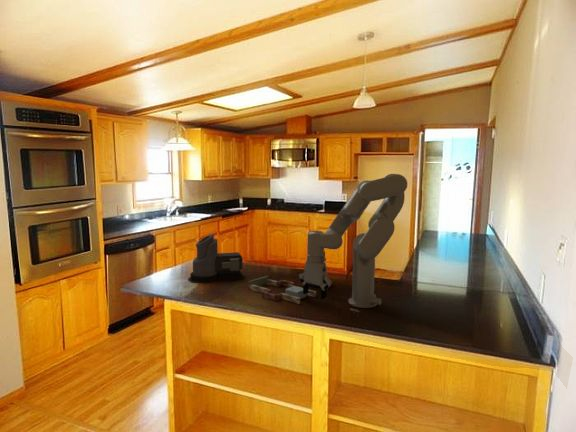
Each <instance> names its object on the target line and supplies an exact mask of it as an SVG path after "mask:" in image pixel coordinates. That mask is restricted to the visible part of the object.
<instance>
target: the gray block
mask: <svg viewBox="0 0 576 432" xmlns="http://www.w3.org/2000/svg"><path fill="white" fill-rule="evenodd" d="M284 293H285V294H288V295H292V296H295V297H299V298H300V300H301V299H304V298H306V297H307V295H306V294H303V287H301V286H296V285H295V286H293V287H290V288H287V287H286V288H285V289H284Z"/></svg>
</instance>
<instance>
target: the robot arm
mask: <svg viewBox="0 0 576 432" xmlns="http://www.w3.org/2000/svg"><path fill="white" fill-rule="evenodd" d="M407 188H408V180H407V178H406V176H404V175H402V174H400V173H399V174H398V173H389V174H387V175H385V176H384V177H381V178H377V179H373V180H372V179H371V180H368V179H367V180H363V181H361V182H359V183H358V185H357V186H356V187H355V189H354V190H353V192H352V194H351V195H350V197H349V198H348V200H347V201H346V203H345V204H344V205H343V207H342V208H341V209H340V211H339V212H338V214H337V215H336V216H335V218H334V219H333V220H332V222H331V223H330V225H329V226H328V228H327V230H326V231H325V232H324V231H321V230H310V231H309V232H307V245H306V246H307V251H306V253H307V254H306V260H305V264H304V269H303V272H302V273H299V274H298V278H299V280H300V282H301V286H303V287H302V288H303V294H307V293H308V291H309V290H310V289H309V288H310V287H309V286H310V285H308V283H311V284H315V285H319V287H320V288H321V290H320V299H321V300H324V299H326V298H327V293H328V292H327V290H328V289H329V288H330V287H331V285H332V283H333V281H332V280H331V279H330V278H328V269H327V268H328V267H327V263H326V261H327V258H326V257H325V258H324V251H325V249H327V250H328V249H329V250H337V249H340V248H341V247H342V245H343V236H344V234H345V233H346V231H347V230H348V228H349V227H351V225H352V224H354V223H356V222H357V221H358V220H360V219H361V217H362V215H363V214H364V213H365V211H366V209H367V208H368V206H369V205H370V204H371V202H375V201H380V200H382V202H381V204H380V205H379V206H378V208H377V209H376V211H375V212H374V213H373V215H371V217H370V218H369V220H368V229H367V231H366V232H364V233H359V234H358V235H356V236H355V238H354V239H353V242H352V257H353V258H352V282H351V283H352V285H351V286H352V287H351V289H352V290H351V297H349V299H347V301H348V304H349V305H350V306H352V307H354V308H355V307H356V308H361V309H370V308H375V307H376V306H377V305H379V306H380V305H382V298H379V297H378V298H377V295H376V294H375V292H374V291H375V276H376V275H375V270H376V269H375V268H376V257H377V256H379V254H380V253H381V252H382V250H383V249H384V248H385V246H386V245H387V243H388V242H389V240H390V239H391V238H392V236H394V235H393V234H394V232H395V222H394V221H395V220H396V219H397V217H398V216H399V213H400V212H401V210H402V209H403V207H404V203H405V192H406V191H407ZM324 261H325V262H324Z"/></svg>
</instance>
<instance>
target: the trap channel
mask: <svg viewBox="0 0 576 432" xmlns="http://www.w3.org/2000/svg"><path fill="white" fill-rule="evenodd" d="M247 283H248V285H247V286H248V287H247V289H248V290H250V291H253V292H255V293H256V292H257V293H260V294H262V298H263V299H267V300H271V301H273V302H279V301H281V300H283V301H287V302H291V303H293V304H297V305H300V304H301V299H300V298H299V297H295V296H292V295H288V294H285V292H280V293H276V294H274V293H273V290H272V289H270V288H266V287H264V286H266V285H267V286H268V285H269V286H272V287H276V288H279V287H282V286H283V287H286V289H287V288H290V287H293V286H296V282H293V281H289V280H287V279H286V280H284V279H281V280H274V279H269V275H265V276H262V277H258V278H255V279H252V280H248V281H247ZM306 296H309V297H312V298H316V297H317V291H316V290H312V289H309V291H308V293H307V294H306Z"/></svg>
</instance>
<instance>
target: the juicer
mask: <svg viewBox="0 0 576 432" xmlns="http://www.w3.org/2000/svg"><path fill="white" fill-rule="evenodd" d="M218 246H219V245H218V239H217V238H215V234H214V233H210V234H208V235H206V236H204V237H203V238H201V239H200V240H199V241H197V242H196V244H195V247H196V257H194V259H193V260H192V272H191V273H190V274H189V275H190V276H189V277H188V278H187V281H188V282H190V283H192V284H208V283H215V282H220V281H222V280H223V281H233V280H232V279H236V280H244V279H243V278H245V275H243V273H242V272H241V270H243V256H242V255H241V253H240V252H237V251H236V252H220V253H219V252H218V251H219V250H218V248H219V247H218Z"/></svg>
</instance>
